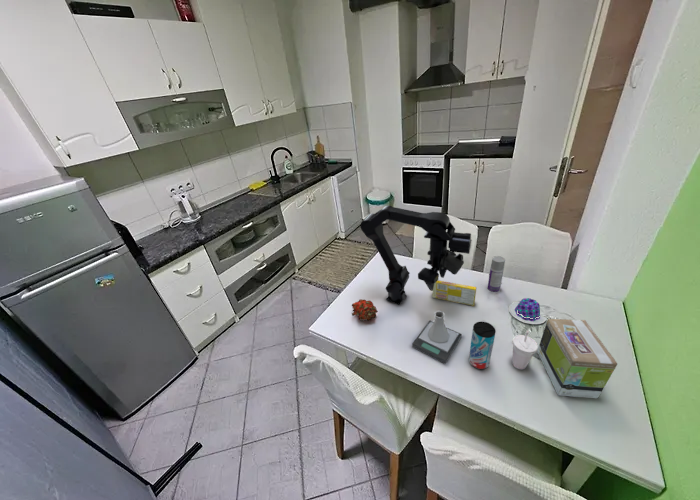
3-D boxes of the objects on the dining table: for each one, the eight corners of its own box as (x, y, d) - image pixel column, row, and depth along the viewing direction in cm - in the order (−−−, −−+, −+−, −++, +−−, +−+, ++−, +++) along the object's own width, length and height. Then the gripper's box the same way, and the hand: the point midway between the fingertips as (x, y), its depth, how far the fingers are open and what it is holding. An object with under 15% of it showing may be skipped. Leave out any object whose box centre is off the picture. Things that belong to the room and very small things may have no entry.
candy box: (474, 303, 110) (476, 286, 106) (474, 306, 108) (476, 290, 104) (433, 294, 117) (433, 278, 113) (432, 297, 116) (432, 282, 111)
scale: (412, 347, 96) (412, 342, 95) (429, 323, 104) (429, 318, 103) (445, 364, 89) (446, 359, 87) (461, 337, 97) (462, 332, 95)
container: (488, 284, 118) (493, 254, 110) (501, 287, 115) (506, 257, 108) (486, 290, 115) (490, 260, 107) (498, 293, 112) (504, 263, 105)
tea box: (599, 399, 74) (620, 364, 66) (557, 396, 76) (572, 361, 68) (571, 352, 86) (586, 318, 79) (535, 350, 89) (546, 317, 81)
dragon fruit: (377, 327, 107) (355, 318, 116) (385, 307, 109) (363, 299, 118) (365, 322, 102) (343, 312, 110) (374, 300, 104) (351, 292, 112)
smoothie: (529, 357, 87) (538, 326, 80) (533, 375, 82) (544, 343, 75) (506, 353, 89) (513, 322, 82) (508, 370, 84) (517, 339, 77)
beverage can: (466, 354, 91) (470, 322, 83) (484, 353, 90) (490, 320, 82) (472, 370, 86) (477, 337, 78) (492, 369, 85) (499, 336, 77)
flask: (450, 344, 92) (452, 322, 87) (428, 342, 94) (428, 321, 88) (448, 327, 98) (449, 306, 93) (427, 326, 100) (427, 305, 94)
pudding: (526, 298, 108) (529, 288, 105) (555, 319, 98) (558, 308, 95) (501, 308, 106) (503, 297, 103) (527, 330, 96) (530, 319, 93)
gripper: (449, 268, 86) (446, 306, 94) (471, 242, 97) (467, 277, 105) (417, 259, 93) (417, 294, 101) (441, 235, 104) (440, 268, 112)
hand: (436, 283), depth 105 cm, fingers open, 9 cm apart
